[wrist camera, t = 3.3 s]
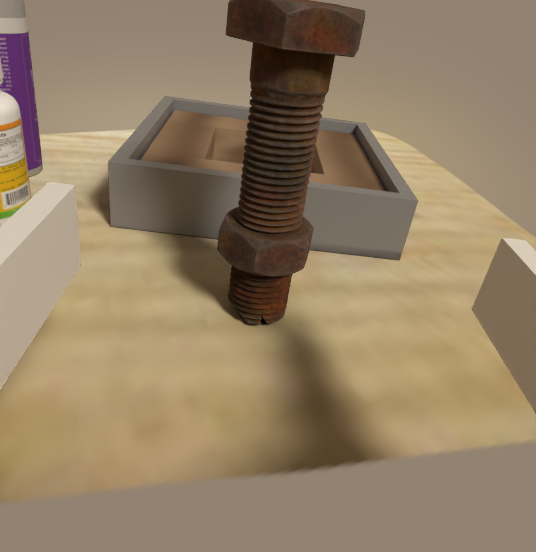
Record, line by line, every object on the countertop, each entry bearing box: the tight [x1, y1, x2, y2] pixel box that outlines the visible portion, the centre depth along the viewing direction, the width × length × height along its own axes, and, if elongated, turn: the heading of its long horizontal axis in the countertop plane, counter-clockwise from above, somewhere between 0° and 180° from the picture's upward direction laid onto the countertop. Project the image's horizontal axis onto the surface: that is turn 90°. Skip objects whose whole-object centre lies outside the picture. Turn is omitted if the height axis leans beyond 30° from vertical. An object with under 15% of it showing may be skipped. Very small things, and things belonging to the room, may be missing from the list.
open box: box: [108, 96, 418, 260], centre depth 41 cm, size 20×20×4 cm
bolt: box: [217, 0, 365, 325], centre depth 23 cm, size 6×5×15 cm
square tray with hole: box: [141, 110, 385, 191], centre depth 41 cm, size 18×18×3 cm
